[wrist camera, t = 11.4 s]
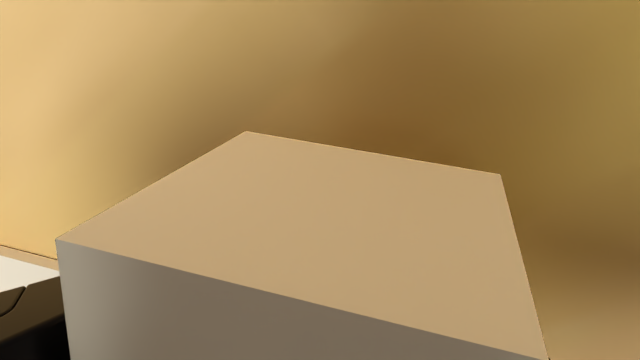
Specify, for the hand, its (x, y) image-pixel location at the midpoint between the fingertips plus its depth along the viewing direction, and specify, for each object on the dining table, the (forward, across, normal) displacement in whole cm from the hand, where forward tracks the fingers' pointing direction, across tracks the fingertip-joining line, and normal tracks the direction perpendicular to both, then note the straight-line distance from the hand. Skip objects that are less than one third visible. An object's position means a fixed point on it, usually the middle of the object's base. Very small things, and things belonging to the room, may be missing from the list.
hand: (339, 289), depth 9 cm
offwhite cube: (+1, 0, 0) cm, 1 cm away
